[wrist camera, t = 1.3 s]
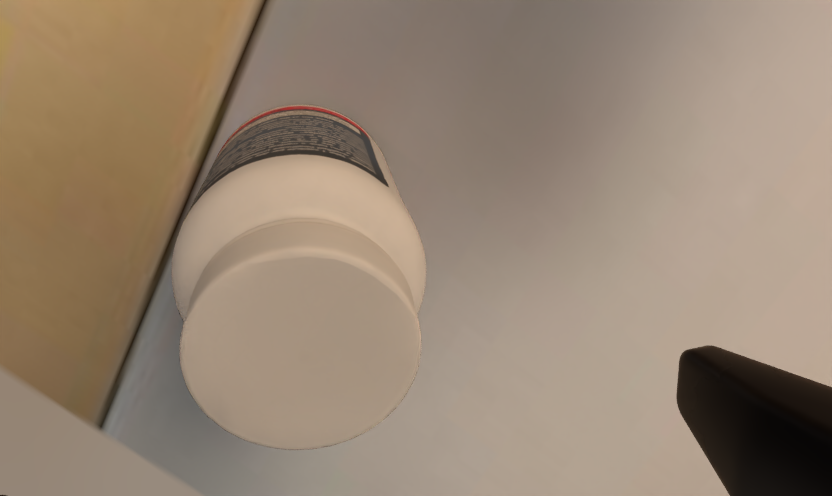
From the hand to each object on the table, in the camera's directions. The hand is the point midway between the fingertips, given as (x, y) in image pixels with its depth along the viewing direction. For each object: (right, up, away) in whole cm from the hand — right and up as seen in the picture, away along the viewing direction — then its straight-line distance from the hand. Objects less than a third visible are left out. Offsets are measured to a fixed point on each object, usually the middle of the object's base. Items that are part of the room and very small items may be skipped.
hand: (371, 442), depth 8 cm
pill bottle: (-3, +4, +10) cm, 11 cm away
